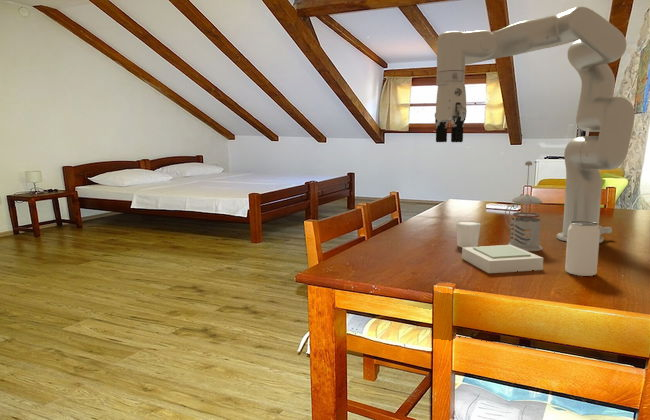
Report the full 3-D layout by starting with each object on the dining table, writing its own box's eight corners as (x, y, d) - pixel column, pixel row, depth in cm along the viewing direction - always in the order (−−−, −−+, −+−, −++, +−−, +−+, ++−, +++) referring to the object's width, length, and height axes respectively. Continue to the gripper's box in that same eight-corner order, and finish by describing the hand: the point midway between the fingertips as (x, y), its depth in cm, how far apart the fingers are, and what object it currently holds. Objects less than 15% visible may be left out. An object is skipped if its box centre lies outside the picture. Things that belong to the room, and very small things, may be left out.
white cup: (481, 249, 131) (482, 225, 130) (456, 248, 132) (457, 224, 131) (478, 243, 137) (478, 221, 136) (454, 243, 139) (455, 220, 138)
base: (510, 255, 123) (511, 243, 122) (542, 269, 109) (543, 256, 109) (461, 258, 121) (462, 245, 120) (488, 273, 107) (489, 259, 107)
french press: (527, 252, 126) (532, 162, 122) (494, 244, 136) (497, 160, 132) (550, 248, 130) (555, 161, 126) (516, 240, 140) (520, 159, 137)
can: (559, 269, 109) (562, 220, 108) (584, 268, 110) (588, 219, 108) (576, 277, 103) (579, 225, 101) (603, 276, 104) (607, 224, 102)
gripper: (479, 75, 117) (476, 142, 120) (449, 83, 134) (447, 141, 137) (452, 75, 116) (450, 142, 119) (425, 83, 133) (424, 142, 136)
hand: (448, 142), depth 128 cm, fingers open, 9 cm apart
